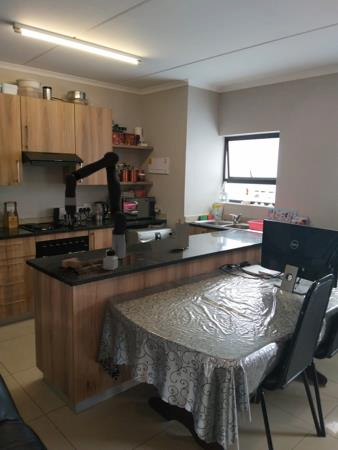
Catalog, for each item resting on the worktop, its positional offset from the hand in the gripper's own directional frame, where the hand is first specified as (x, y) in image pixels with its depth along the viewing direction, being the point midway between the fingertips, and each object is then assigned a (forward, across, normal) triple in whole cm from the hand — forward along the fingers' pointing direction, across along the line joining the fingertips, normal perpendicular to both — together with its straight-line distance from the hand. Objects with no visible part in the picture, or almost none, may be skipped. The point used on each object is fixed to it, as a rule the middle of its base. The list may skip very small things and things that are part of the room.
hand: (70, 229), depth 240 cm
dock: (+22, -25, +7) cm, 34 cm away
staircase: (+23, -31, -87) cm, 95 cm away
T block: (+22, -12, +7) cm, 26 cm away
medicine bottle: (+22, -32, -6) cm, 39 cm away
